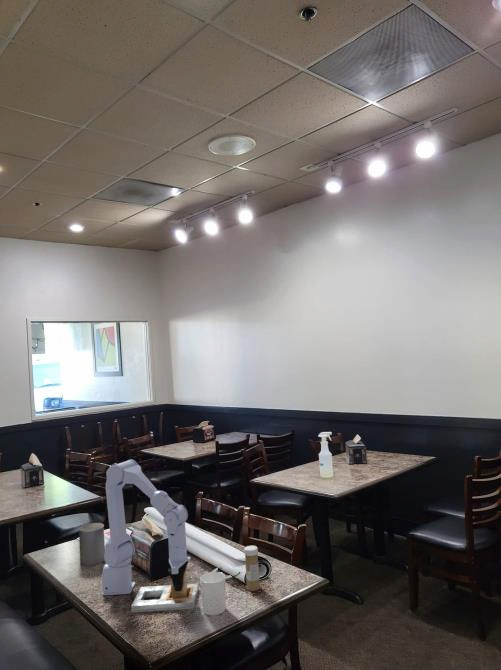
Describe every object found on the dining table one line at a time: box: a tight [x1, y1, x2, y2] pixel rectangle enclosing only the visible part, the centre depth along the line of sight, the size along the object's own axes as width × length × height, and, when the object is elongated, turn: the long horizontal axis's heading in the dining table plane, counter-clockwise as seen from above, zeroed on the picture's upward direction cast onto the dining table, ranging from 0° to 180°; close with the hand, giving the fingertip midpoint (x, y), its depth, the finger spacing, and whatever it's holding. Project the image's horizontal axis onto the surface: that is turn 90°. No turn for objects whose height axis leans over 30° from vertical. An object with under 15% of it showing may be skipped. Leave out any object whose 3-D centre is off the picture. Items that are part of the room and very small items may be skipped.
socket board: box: [130, 583, 199, 614], centre depth 159 cm, size 20×13×2 cm, turn 89°
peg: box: [170, 569, 188, 598], centre depth 160 cm, size 4×4×8 cm
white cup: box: [199, 571, 227, 616], centre depth 152 cm, size 8×8×10 cm
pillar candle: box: [78, 522, 106, 567], centre depth 197 cm, size 10×10×15 cm
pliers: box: [198, 567, 233, 587], centre depth 174 cm, size 10×2×15 cm
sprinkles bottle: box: [243, 545, 261, 592], centre depth 165 cm, size 5×5×13 cm
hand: (179, 587), depth 160 cm, fingers closed on peg, 4 cm apart
